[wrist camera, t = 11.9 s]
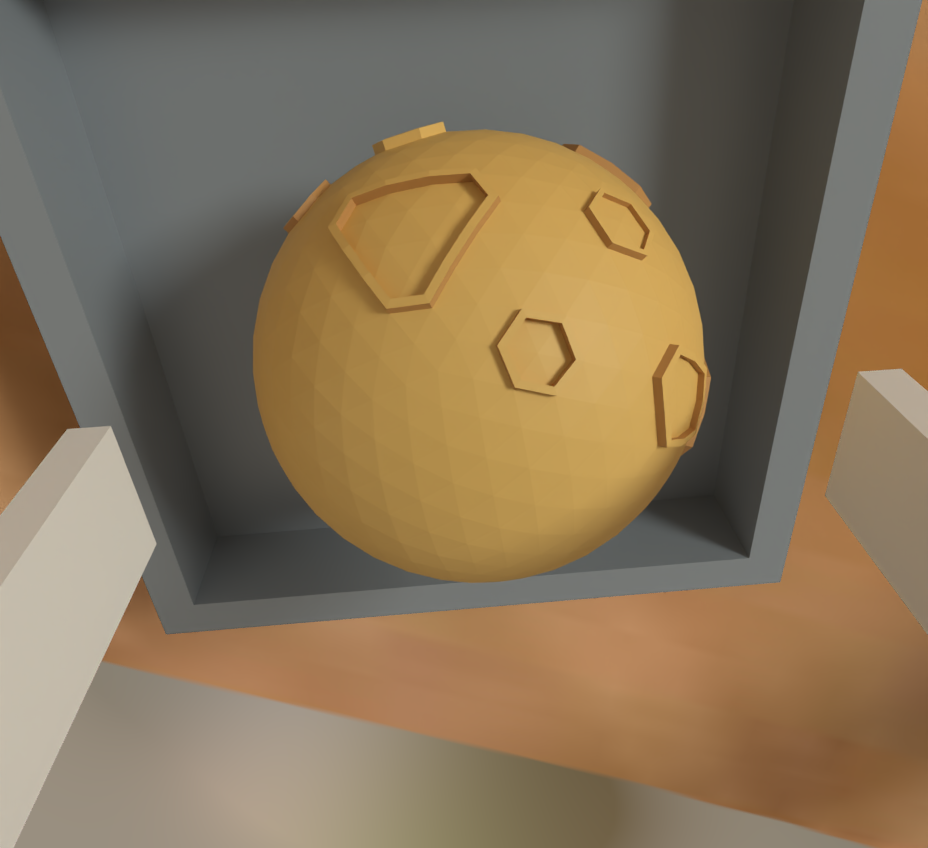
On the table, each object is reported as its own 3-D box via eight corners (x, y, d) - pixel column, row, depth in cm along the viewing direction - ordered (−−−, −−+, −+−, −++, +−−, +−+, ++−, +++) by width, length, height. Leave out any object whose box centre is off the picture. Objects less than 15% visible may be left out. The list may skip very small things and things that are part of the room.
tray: (861, -193, 16) (979, -234, 13) (734, 504, 27) (780, 582, 24) (-40, -130, 16) (-162, -155, 12) (197, 549, 27) (166, 634, 23)
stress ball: (440, 435, 25) (733, 534, 19) (185, 561, 17) (540, 778, 12) (445, 120, 21) (814, 131, 15) (119, 112, 14) (600, 129, 8)
